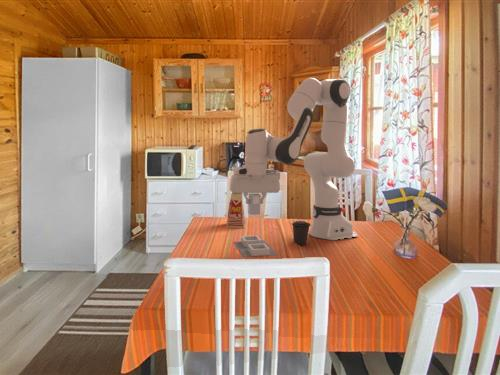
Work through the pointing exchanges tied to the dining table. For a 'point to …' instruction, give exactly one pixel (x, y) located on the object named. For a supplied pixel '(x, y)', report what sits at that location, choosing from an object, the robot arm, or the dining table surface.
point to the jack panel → (254, 247)
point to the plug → (254, 204)
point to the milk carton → (236, 211)
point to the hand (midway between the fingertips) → (254, 203)
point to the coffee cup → (300, 232)
